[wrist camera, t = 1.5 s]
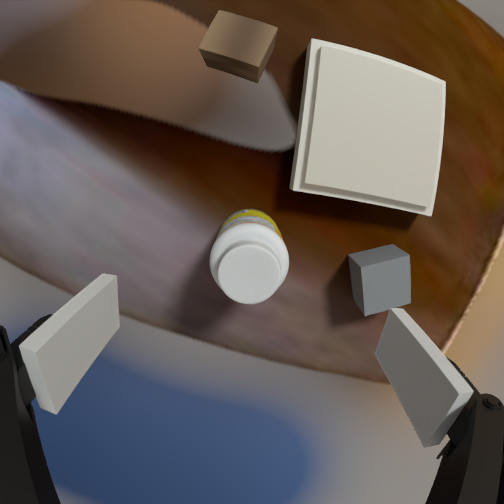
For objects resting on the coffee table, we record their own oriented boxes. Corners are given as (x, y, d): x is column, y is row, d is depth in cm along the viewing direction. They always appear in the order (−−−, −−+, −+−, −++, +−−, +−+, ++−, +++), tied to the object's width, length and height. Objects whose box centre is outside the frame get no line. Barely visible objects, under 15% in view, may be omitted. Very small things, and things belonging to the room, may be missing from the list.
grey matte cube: (352, 298, 31) (364, 316, 27) (347, 254, 29) (360, 267, 25) (394, 287, 30) (410, 302, 26) (391, 243, 29) (409, 255, 25)
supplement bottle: (266, 273, 30) (272, 327, 20) (211, 253, 29) (192, 299, 19) (288, 220, 28) (308, 251, 18) (232, 198, 28) (221, 218, 18)
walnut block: (207, 66, 24) (198, 48, 19) (224, 32, 23) (219, 9, 18) (257, 83, 25) (258, 67, 20) (273, 48, 23) (278, 27, 19)
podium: (289, 188, 27) (293, 191, 24) (307, 47, 23) (313, 36, 20) (419, 212, 28) (434, 217, 25) (433, 85, 24) (448, 80, 21)
